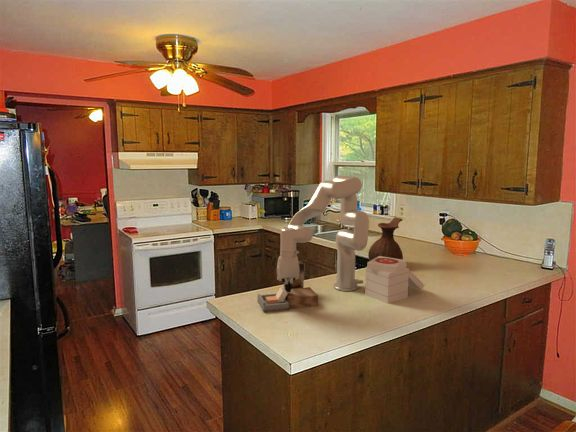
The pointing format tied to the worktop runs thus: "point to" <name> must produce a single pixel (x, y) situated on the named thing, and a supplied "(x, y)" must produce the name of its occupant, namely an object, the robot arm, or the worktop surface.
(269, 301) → the tile
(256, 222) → the worktop surface
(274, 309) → the box
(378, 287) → the pizza boxes
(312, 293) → the wooden square board
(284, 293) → the tile
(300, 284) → the coffee box
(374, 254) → the jug
